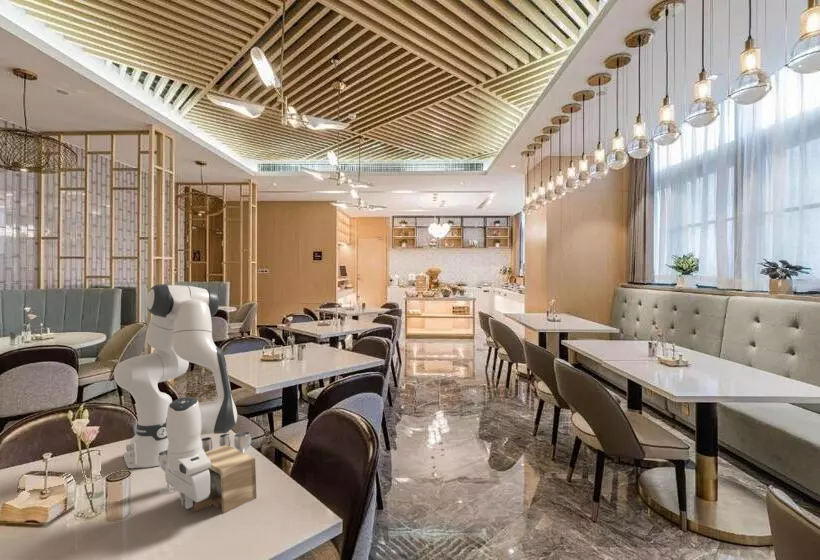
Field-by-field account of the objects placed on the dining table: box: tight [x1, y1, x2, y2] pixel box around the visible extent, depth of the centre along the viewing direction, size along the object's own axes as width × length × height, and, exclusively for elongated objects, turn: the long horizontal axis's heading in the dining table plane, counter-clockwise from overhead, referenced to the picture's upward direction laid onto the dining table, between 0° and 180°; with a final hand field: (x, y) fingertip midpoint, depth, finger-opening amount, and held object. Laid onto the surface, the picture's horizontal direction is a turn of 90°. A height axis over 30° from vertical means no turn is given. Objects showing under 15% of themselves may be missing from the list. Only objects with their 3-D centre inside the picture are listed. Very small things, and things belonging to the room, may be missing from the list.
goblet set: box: [158, 431, 252, 495], centre depth 142 cm, size 28×6×13 cm, turn 126°
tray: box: [189, 472, 222, 513], centre depth 127 cm, size 11×12×6 cm
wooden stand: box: [205, 445, 257, 514], centre depth 130 cm, size 17×10×12 cm, turn 51°
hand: (187, 506), depth 121 cm, fingers closed
